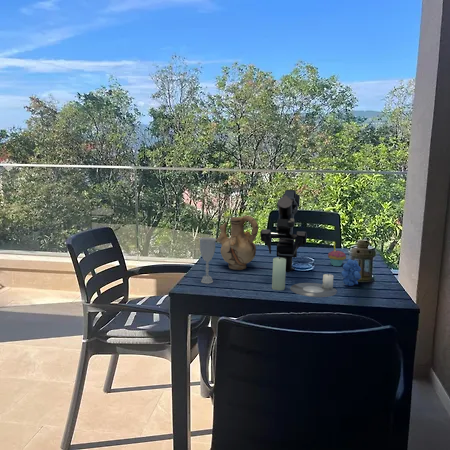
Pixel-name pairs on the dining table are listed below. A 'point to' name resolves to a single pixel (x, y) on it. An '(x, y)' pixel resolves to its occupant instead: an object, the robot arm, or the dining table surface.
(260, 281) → the dining table surface
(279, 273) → the pillar candle
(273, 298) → the dining table surface
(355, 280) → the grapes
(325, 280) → the ivory candle
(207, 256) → the chalice
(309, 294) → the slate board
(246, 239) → the ceramic vessel
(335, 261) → the cupcake
